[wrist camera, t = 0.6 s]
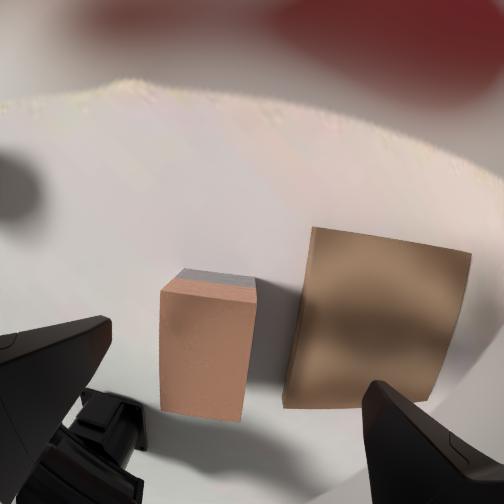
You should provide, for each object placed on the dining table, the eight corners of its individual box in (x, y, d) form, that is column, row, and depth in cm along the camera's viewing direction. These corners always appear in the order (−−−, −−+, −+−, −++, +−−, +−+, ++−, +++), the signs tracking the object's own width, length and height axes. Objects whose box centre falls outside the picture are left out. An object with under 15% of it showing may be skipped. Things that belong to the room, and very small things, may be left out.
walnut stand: (420, 392, 22) (427, 400, 21) (281, 397, 22) (283, 408, 20) (461, 251, 20) (471, 253, 19) (312, 226, 20) (317, 227, 19)
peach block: (241, 374, 22) (240, 422, 16) (179, 365, 22) (160, 410, 16) (254, 276, 21) (257, 303, 15) (184, 268, 20) (160, 290, 15)
